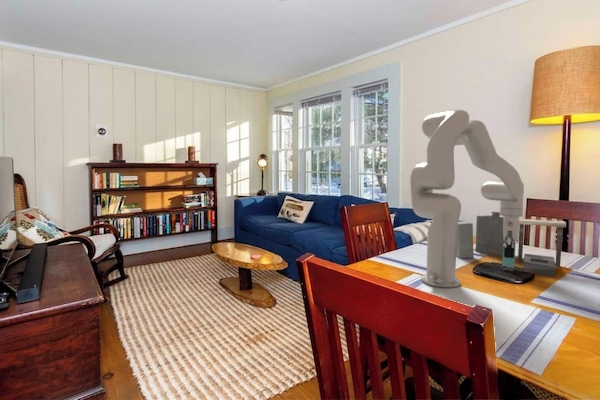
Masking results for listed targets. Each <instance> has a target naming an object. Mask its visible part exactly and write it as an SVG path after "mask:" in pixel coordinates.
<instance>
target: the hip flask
mask: <svg viewBox="0 0 600 400" xmlns="http://www.w3.org/2000/svg"><path fill="white" fill-rule="evenodd" d="M475 223H476V226H475V227H476V229H475V249H474V250H475V251H474V252H475V253H479V254H486V255H487V254H488V255H495V256H503V244H505V241H504V238H503V216H501V215H500V211H491V215H489V214H488V215H476V222H475ZM514 243H515V244H516V241H515V242H514Z"/></svg>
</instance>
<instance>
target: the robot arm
mask: <svg viewBox="0 0 600 400" xmlns="http://www.w3.org/2000/svg"><path fill="white" fill-rule="evenodd" d="M421 130H422V132H423V134H424V135H425V136H426V137H427V138H429V141H428V144H427V148H426V162H421V163H419V164H416V165H415V166H414V167H413V169H412V171H411V174H410V178H409V179H410V180H409V181H410V183H409V184H410V197H411V207H412V210H413V212H414V214H415V215H417V216H418V217H420V218H425V219H431V220H432V221H431V223H430V224H429V227H428V230H427V235H426V236H427V237H426V238H427V239H426V246H427V247H426V274H423V275H422V276H421V280H422V282H423V283H425V284H427V285H429V286H431V287H437V288H444V289H446V288H449V289H450V288H456V287H459V286H460V285H461V280H460V279H459V278H458V277H456V269H457V268H456V267H457V256H456V244H457V226H458V222H459V219H460V216H461V212H462V204H461V201H460V200H459V199H458V198H457V196H455V195H453V194H450V193H442V192H441V193H440V192H434V190H436V191H444V190H449V189H451V188H452V187H453V186H454V184H455V175H456V174H455V157H454V154H455V152H454V151H455V146H464V147H465V149H466V152H467V154H468V156H469V158H470V161H471V163H472V165H473V166H474V167H476V168H479V169H481V170H483V171H485V172H487V173H490V174H492V175H493V176H496V177H498V179H500V180H489V181H486V182H484V183H483V184H482V185H481V188H480V194H481V196H482V197H483V198H484V199H486V200H489V201H499V202H500V203H499V204H500V205H499V207H500V208H499V212H500V214H499V215H500V217H503V238H504V241H505V247H504V257H506V258H514V248H513V247H514V245H515V246H516V243H519V229H520V224H519V219H520V218H521V217H523V210H524V209H523V207H524V193H525V189H524V185H525V184H524V182H523V181H522V178H521V176H520V173H519V171H518V170H517V169H516V168H515V167H514V166H513V165H512V164H510V163H509V162H508V161H507V160H505V159H504V158H503V157H501V156H500V155H499V154H498V153H497V151H496V148H495V146H494V143H493V141H492V139H491V136H490V134H489V131H488V129H487V127H486V125H485V123H484V122H483V121H481V120H477V119H476V120H474V119H473V120H470V115H469V113H468V111H466V110H463V109H454V110H447V111H443V112H438V113H434V114H433V113H432V114H429V115H428V116H426V117H424V120H423V121H422V125H421ZM514 242H515V243H514Z"/></svg>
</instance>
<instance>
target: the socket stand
mask: <svg viewBox="0 0 600 400" xmlns="http://www.w3.org/2000/svg"><path fill="white" fill-rule="evenodd" d="M525 225H530V226H542V227H555V228H557V231H556V232H557V233H556V234H557V235H556V236H557V237H556V248H555V257H554V256H549V255H539V254H531V253H524V254H523V249H524V248H523V247H524V232H525V230H524V229H525ZM566 227H567V222H566V221H562V220H561V221H560V220H550V219H549V220H548V219H547V220H545V219H533V218H532V219H531V218H519V241H518V251H517V252H518V253H517V262H518V263H523V266H522V267H523V269H525V270H529V271H531V272H534V273H535V274H534V275H539V276H547V277H553V278H554V277H555V278H556V270H557V268H561V261H562V259H561V258H562V257H561V256H562V246H563V245H562V243H563V229H564V228H566ZM523 255H524V256H523ZM523 269H522V270H523Z"/></svg>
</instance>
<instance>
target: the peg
mask: <svg viewBox="0 0 600 400" xmlns="http://www.w3.org/2000/svg"><path fill="white" fill-rule="evenodd" d="M504 247H505V244H503V255H502V258H501V259H502V261H501V263H502V264H501V267H502V266H507V267H512V268H514V269H515V262H516V261H515V260H516V259H515V258H516V244H515V245H514V247H513V248H514V258H506V257H504Z"/></svg>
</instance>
